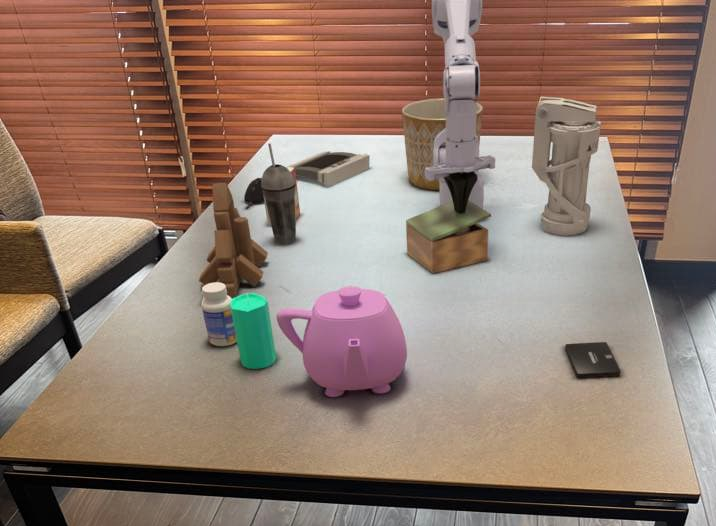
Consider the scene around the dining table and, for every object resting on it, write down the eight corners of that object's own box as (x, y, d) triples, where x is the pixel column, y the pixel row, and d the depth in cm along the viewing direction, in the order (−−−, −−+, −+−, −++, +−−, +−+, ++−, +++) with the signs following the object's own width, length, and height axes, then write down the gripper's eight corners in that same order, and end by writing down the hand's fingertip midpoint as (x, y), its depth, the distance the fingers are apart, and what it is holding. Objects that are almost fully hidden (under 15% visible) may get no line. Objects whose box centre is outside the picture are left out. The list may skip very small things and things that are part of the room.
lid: (462, 199, 164) (462, 196, 163) (491, 216, 156) (491, 213, 155) (406, 223, 161) (405, 220, 161) (432, 241, 153) (432, 238, 153)
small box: (290, 227, 179) (284, 178, 172) (267, 226, 180) (260, 177, 173) (301, 214, 185) (295, 166, 178) (278, 213, 186) (272, 165, 179)
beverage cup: (308, 236, 174) (297, 138, 161) (291, 249, 169) (278, 148, 156) (280, 232, 177) (266, 135, 163) (262, 244, 172) (247, 145, 159)
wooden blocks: (213, 253, 169) (196, 165, 157) (271, 250, 169) (258, 162, 157) (195, 305, 150) (173, 209, 138) (260, 302, 150) (244, 206, 139)
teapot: (284, 424, 119) (269, 332, 109) (287, 358, 134) (275, 272, 124) (414, 414, 120) (411, 322, 109) (403, 350, 134) (400, 264, 124)
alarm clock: (327, 173, 196) (278, 157, 203) (327, 192, 199) (279, 176, 206) (369, 154, 206) (321, 140, 213) (369, 173, 210) (322, 158, 216)
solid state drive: (605, 345, 133) (606, 341, 133) (620, 375, 126) (621, 371, 125) (564, 347, 133) (565, 343, 133) (576, 377, 126) (577, 374, 125)
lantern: (589, 219, 176) (604, 94, 160) (586, 237, 169) (602, 107, 152) (531, 216, 179) (540, 93, 162) (526, 234, 171) (534, 106, 155)
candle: (242, 352, 136) (229, 285, 128) (277, 350, 136) (266, 283, 128) (239, 370, 131) (226, 302, 123) (275, 367, 132) (264, 299, 124)
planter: (466, 164, 208) (467, 94, 197) (491, 187, 194) (494, 113, 183) (395, 173, 205) (392, 103, 194) (416, 197, 191) (414, 122, 180)
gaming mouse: (234, 208, 190) (231, 190, 187) (259, 187, 200) (256, 171, 197) (258, 209, 188) (256, 192, 185) (282, 189, 199) (279, 172, 196)
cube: (451, 245, 166) (451, 223, 163) (470, 249, 164) (470, 227, 161) (440, 253, 163) (440, 231, 160) (459, 257, 161) (459, 235, 158)
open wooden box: (459, 241, 169) (460, 211, 165) (487, 260, 161) (488, 229, 157) (406, 253, 165) (405, 223, 161) (432, 273, 158) (432, 242, 153)
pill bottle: (235, 347, 137) (224, 294, 131) (205, 346, 138) (193, 293, 131) (243, 332, 141) (234, 280, 135) (214, 332, 142) (203, 279, 135)
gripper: (436, 149, 145) (437, 224, 154) (504, 137, 149) (501, 210, 158) (419, 140, 149) (420, 213, 158) (485, 128, 154) (483, 200, 163)
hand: (459, 211), depth 159 cm, fingers closed
